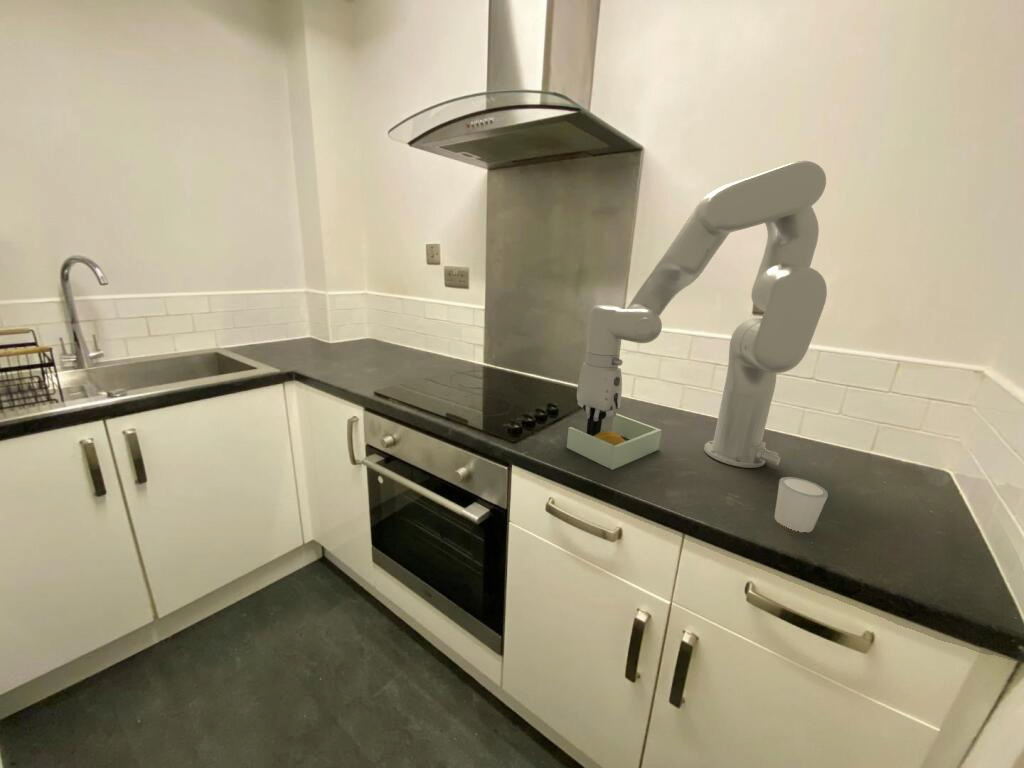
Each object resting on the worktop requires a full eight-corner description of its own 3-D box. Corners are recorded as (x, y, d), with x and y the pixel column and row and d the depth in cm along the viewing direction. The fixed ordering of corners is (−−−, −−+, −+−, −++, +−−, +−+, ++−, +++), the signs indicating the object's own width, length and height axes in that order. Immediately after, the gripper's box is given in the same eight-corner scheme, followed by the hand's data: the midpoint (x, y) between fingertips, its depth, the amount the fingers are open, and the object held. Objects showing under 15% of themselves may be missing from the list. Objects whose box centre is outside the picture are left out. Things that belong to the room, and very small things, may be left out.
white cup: (798, 511, 75) (808, 476, 73) (827, 535, 69) (839, 498, 67) (761, 510, 75) (770, 475, 73) (787, 534, 68) (797, 496, 66)
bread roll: (617, 441, 102) (620, 426, 101) (633, 458, 93) (635, 441, 92) (585, 442, 100) (587, 426, 99) (598, 458, 92) (600, 442, 91)
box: (658, 449, 98) (661, 429, 96) (612, 469, 87) (615, 447, 85) (613, 431, 107) (615, 413, 106) (566, 447, 96) (568, 427, 95)
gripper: (639, 365, 93) (628, 441, 98) (587, 352, 104) (579, 421, 109) (618, 369, 88) (608, 448, 93) (566, 355, 99) (560, 427, 104)
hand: (593, 433), depth 101 cm, fingers closed
